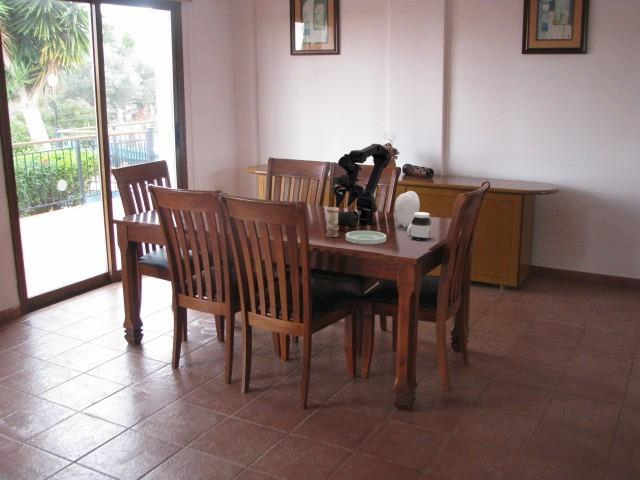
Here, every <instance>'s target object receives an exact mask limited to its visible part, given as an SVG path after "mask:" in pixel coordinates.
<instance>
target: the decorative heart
mask: <svg viewBox="0 0 640 480" xmlns="http://www.w3.org/2000/svg"><path fill="white" fill-rule="evenodd" d="M420 205H421V204H420V198H419V195H418V194H417V193H416V191H413V190H407V191H406V192H404V193H401V194H399V195H398V196H397V198H396V199H395V203H394V214H395V217H396V219H397V221H398V222H399V223H400V225H402V226H403V230H405V229H406V228H408V226H409V225H410V224H411V223H412V220H413V218H414V213H416V212H420Z"/></svg>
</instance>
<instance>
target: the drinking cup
mask: <svg viewBox="0 0 640 480" xmlns="http://www.w3.org/2000/svg"><path fill="white" fill-rule="evenodd" d="M359 220H367V219H362V218H359V213H358V211H356V210H353V211H339V212H338V225H343V226H344V225H345V226H351V227H357V225H358V224H359Z"/></svg>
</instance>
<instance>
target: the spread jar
mask: <svg viewBox="0 0 640 480" xmlns="http://www.w3.org/2000/svg"><path fill="white" fill-rule="evenodd" d="M413 213H414V212H413ZM408 225H409V224H408ZM406 228H407V229H406V232H407V234H408V235H410V236H411V238H412V240H413V239H414V240H415V239H419V240H418V241H425V240H424V239H428V238H429V239H430V237H431V235H432V220H431V218H430V213H429V212H425V211H419V212H416V213H414V218H413V220H412V223H411V224H410V225H409V226H408V227H406ZM429 239H428V240H429Z"/></svg>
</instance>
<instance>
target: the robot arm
mask: <svg viewBox="0 0 640 480" xmlns="http://www.w3.org/2000/svg"><path fill="white" fill-rule="evenodd" d="M370 157H372V163H373V165H374V166H373V168H372V170H371V173H370V175H369V178H368V181H367V183H366V186H365V188H364V186H363V185H360V184H359V183H358V182H359V178H358V177H359V175H360V172H361V171H362V170H363V169H362V167H361V165H360V164H364V163H366V161H367V160H368V159H369V158H370ZM391 160H392V154H391V152H390V151H389V150H388V149H386V148H385V147H384V146H383V145H382V144H380V143H372V144H371V145H369V146H366V147H364V148H362V149H354V150H350V152H349V153H344V155H343V156H341V157H340V158H339V159H338V161H337V162H338V166H339V167H340V168H341V169H342V170H343V171H345V172H346V173H345V174H340V176H336V177H335V176H334V177H332V185H333V186H332V187H331V190H330V192H332V194H333V195H334V196H335V207H337V208H338V209H339V207H340V206H341V204H342V202H343V201H344V200H345V197H346V194H347V193H348V199H347V203H346V205H347V206H346V207H350V206H351V205H352V204H354V202H355V204H356V210H357V211H356V212H359V211H360V212H359V213H358V216H359V218H362V219H367V220H359V221H358V224H359V225H370V226H371V225H374V213H377V211H378V206H377V204H376V197H375V192H376V190H377V187H378V184H379V182H380V179H381V177H382V174H383V171H384V170H385V169H386V168H387V167H388V166H389V165H390V163H391V162H392V161H391Z"/></svg>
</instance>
